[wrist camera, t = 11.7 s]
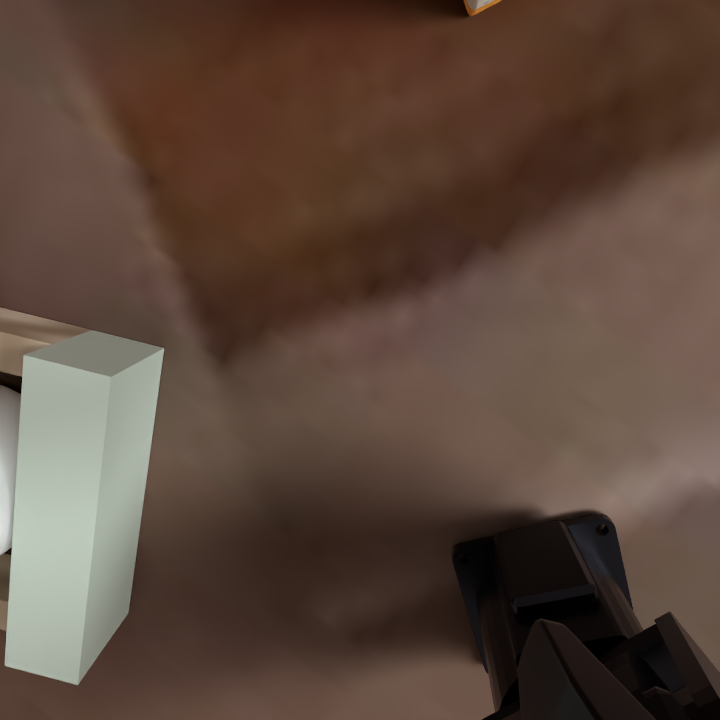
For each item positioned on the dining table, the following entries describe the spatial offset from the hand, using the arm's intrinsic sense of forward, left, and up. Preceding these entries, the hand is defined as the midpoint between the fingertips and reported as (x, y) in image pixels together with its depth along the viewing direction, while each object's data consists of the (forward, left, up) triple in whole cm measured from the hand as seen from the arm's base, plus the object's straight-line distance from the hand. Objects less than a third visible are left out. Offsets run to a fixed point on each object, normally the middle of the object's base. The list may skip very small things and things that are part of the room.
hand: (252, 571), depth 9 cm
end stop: (-3, +11, -13) cm, 17 cm away
